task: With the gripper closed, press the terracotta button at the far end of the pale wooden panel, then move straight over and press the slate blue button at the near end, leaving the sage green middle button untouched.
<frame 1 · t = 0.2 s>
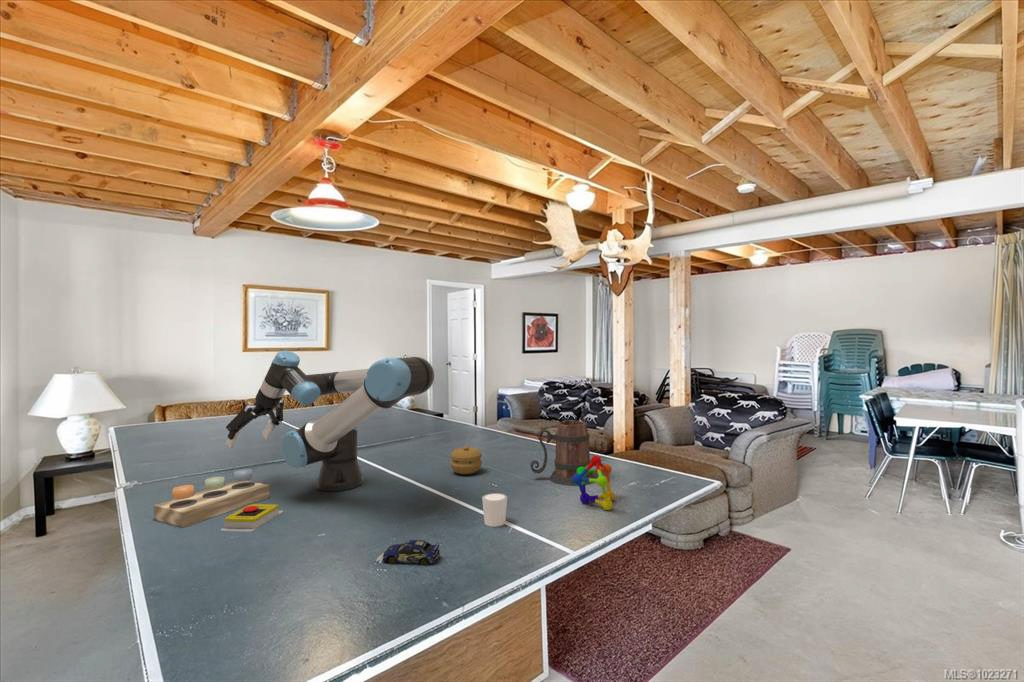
hand: (247, 441, 163), 16 cm above the table, fingers open, 13 cm apart
race car: (409, 562, 107), on the table
slate button: (243, 475, 150), point 8 cm above the table, slide at 0.0 cm
educational toy: (594, 505, 140), on the table
pot: (466, 473, 176), on the table
button panel: (215, 507, 142), on the table
cream cylinder: (495, 523, 128), on the table
sage button: (214, 483, 142), point 8 cm above the table, slide at 0.0 cm
tankard: (563, 479, 166), on the table
emergency button: (253, 522, 131), on the table
terracotta button: (183, 492, 133), point 8 cm above the table, slide at 0.0 cm
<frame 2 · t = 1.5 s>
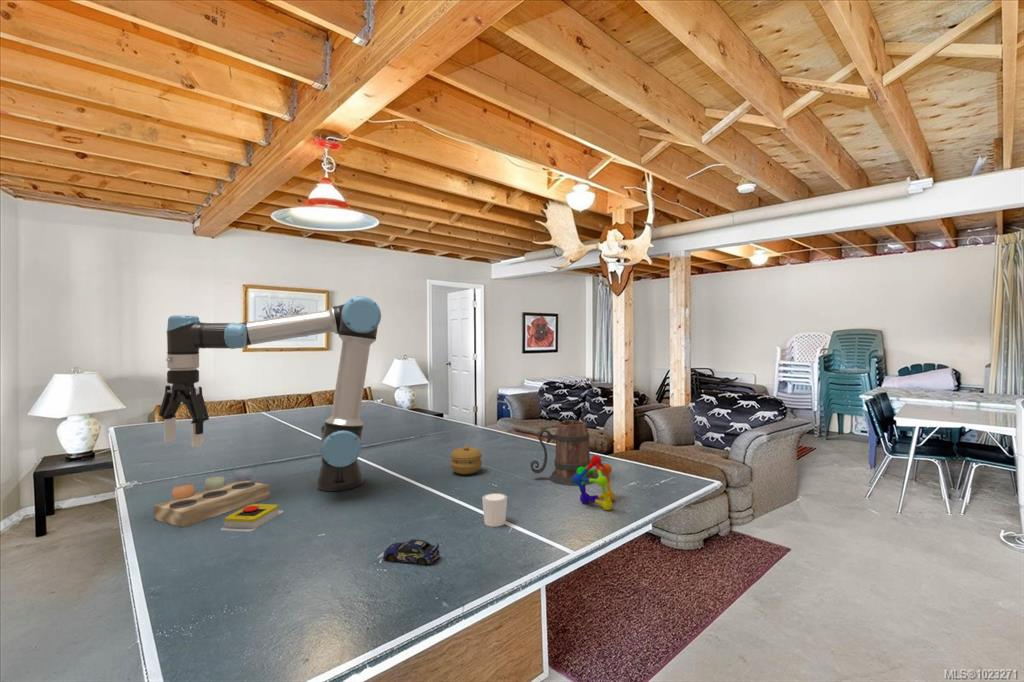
hand: (183, 443, 134), 21 cm above the table, fingers open, 13 cm apart
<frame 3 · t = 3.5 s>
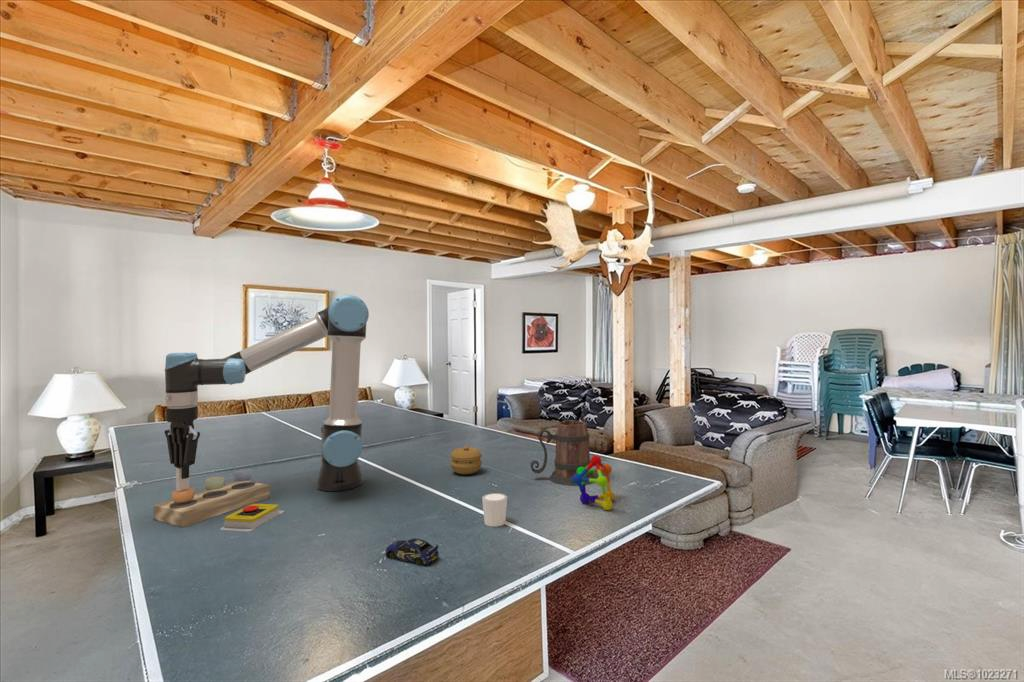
hand: (182, 489, 133), 8 cm above the table, fingers closed
terracotta button: (183, 494, 133), point 7 cm above the table, slide at 0.8 cm, touching gripper
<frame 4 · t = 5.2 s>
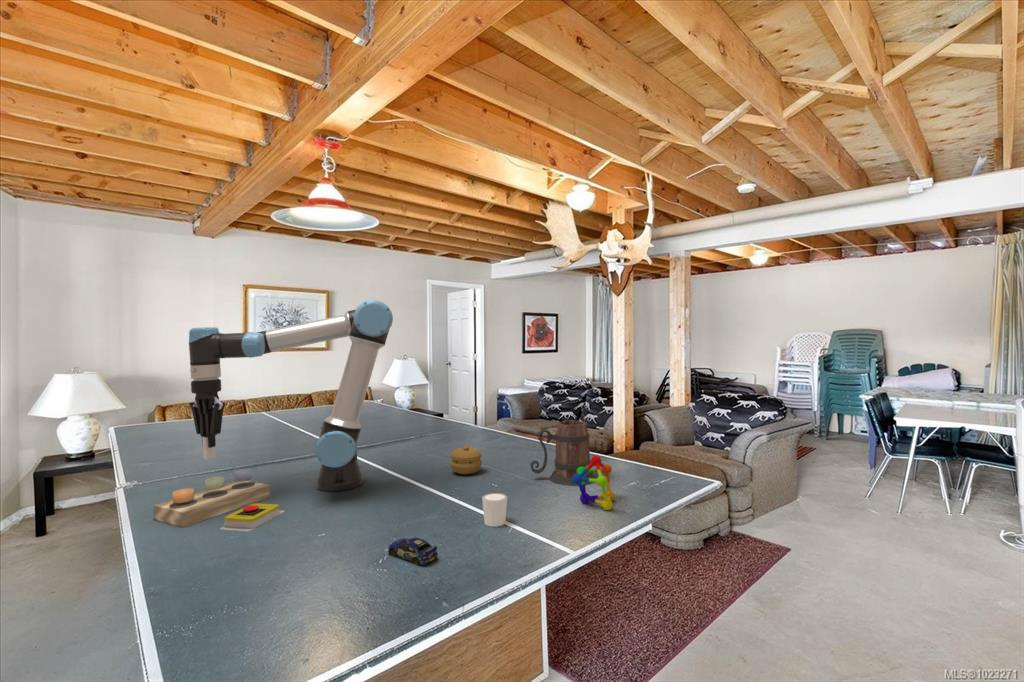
hand: (209, 457, 140), 16 cm above the table, fingers closed
terracotta button: (183, 495, 133), point 7 cm above the table, slide at 1.0 cm
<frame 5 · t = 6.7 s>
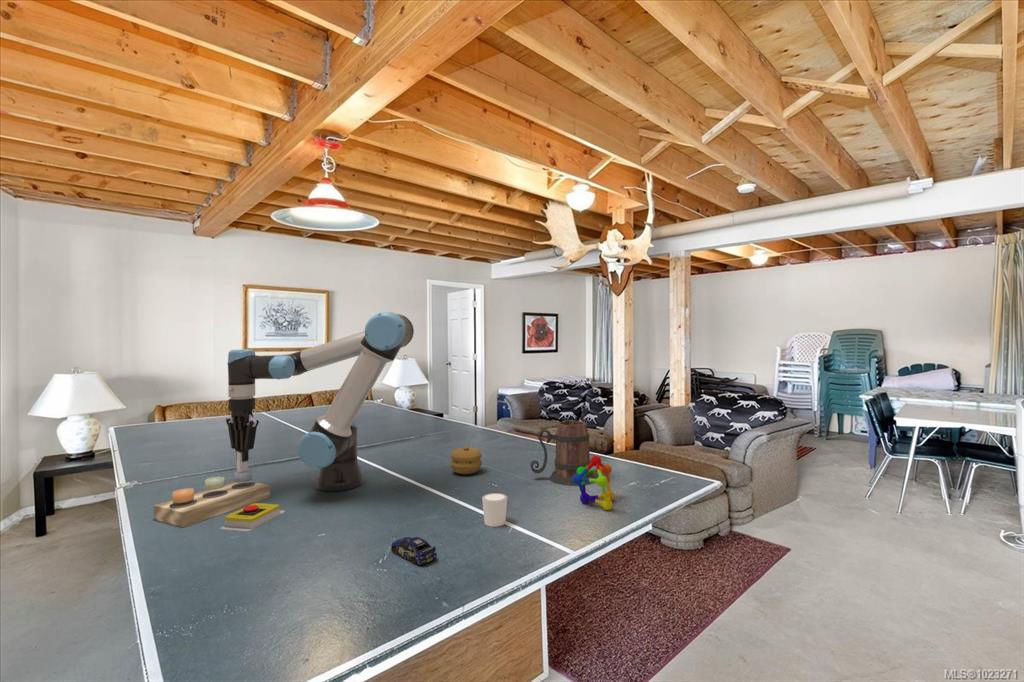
hand: (242, 471, 150), 9 cm above the table, fingers closed
slate button: (243, 476, 150), point 7 cm above the table, slide at 0.3 cm, touching gripper
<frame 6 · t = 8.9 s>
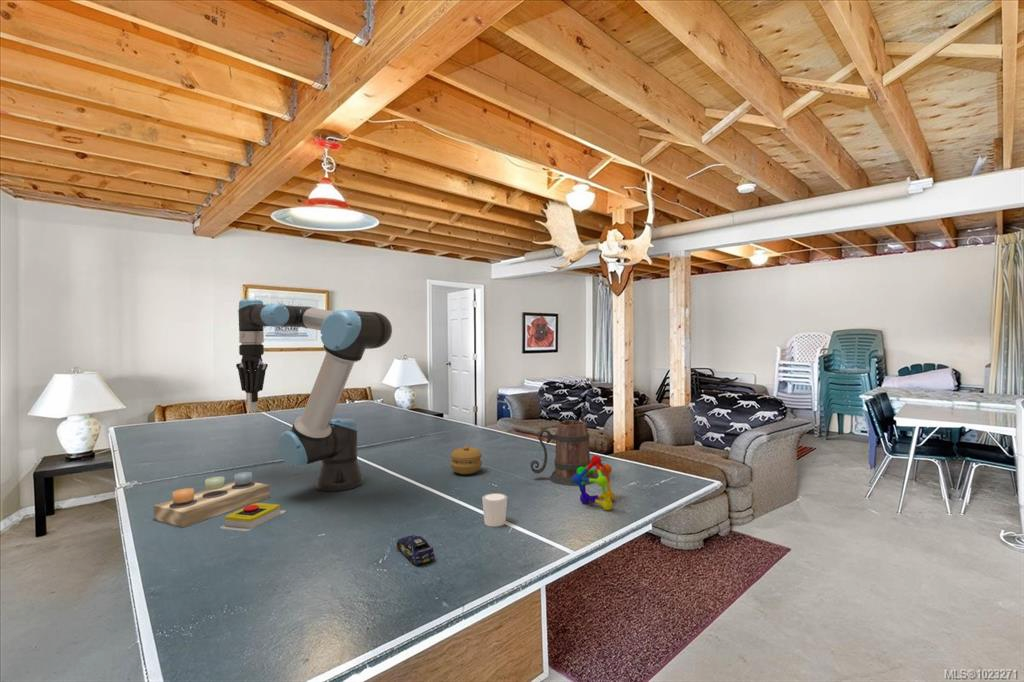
hand: (252, 411, 164), 26 cm above the table, fingers closed
slate button: (243, 478, 150), point 7 cm above the table, slide at 1.0 cm
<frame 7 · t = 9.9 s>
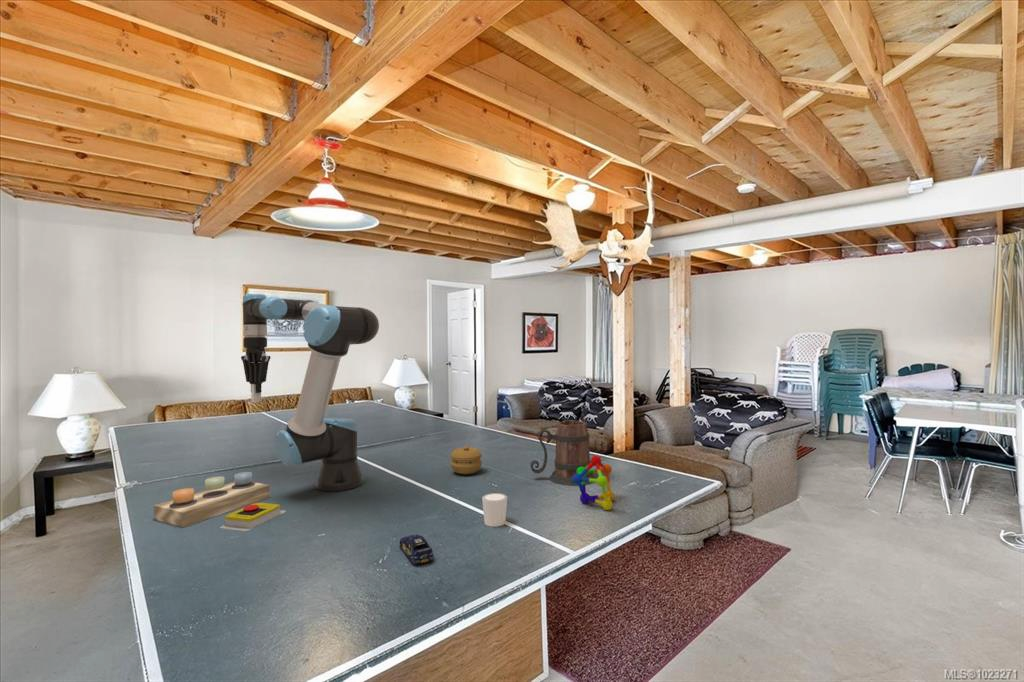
hand: (256, 401, 169), 28 cm above the table, fingers closed
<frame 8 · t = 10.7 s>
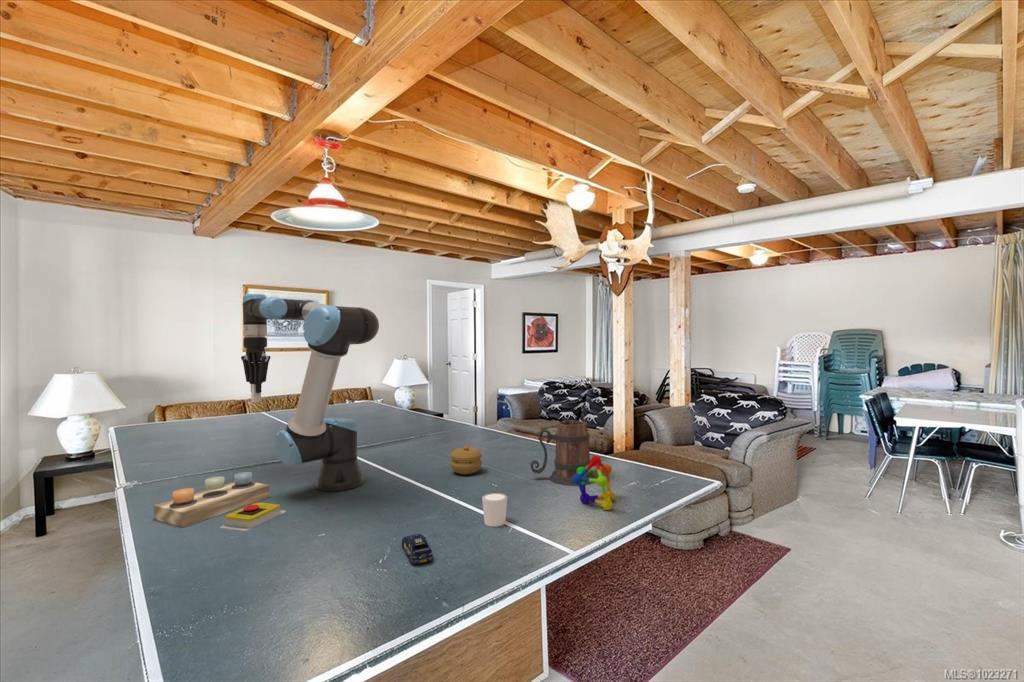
hand: (256, 401, 169), 28 cm above the table, fingers closed
at the end: terracotta button slide at 1.0 cm; slate button slide at 1.0 cm; sage button slide at 0.0 cm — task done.
